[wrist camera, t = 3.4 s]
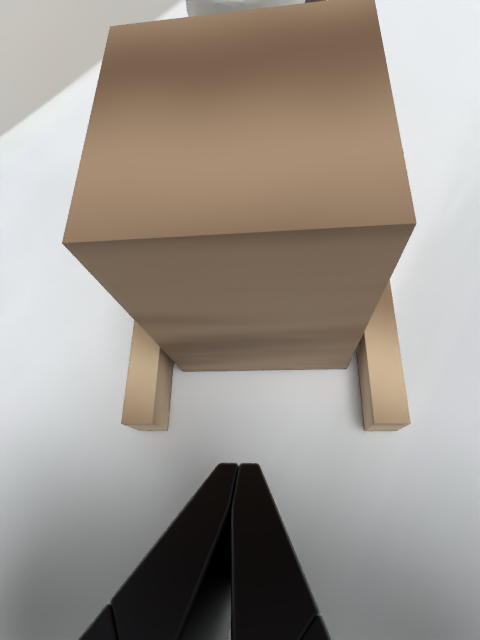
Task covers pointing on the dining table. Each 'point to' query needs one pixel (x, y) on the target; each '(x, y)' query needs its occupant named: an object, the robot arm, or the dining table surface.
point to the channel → (373, 364)
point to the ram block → (245, 184)
